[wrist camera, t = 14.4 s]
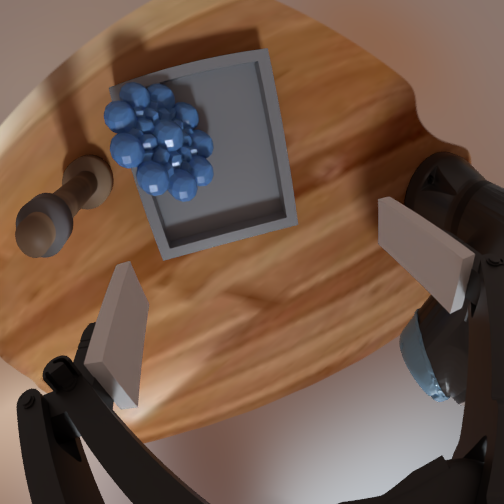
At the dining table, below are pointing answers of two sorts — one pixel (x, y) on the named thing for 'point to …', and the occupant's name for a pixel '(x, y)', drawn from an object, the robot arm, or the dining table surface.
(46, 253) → the post
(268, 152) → the holder tray
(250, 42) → the dining table surface
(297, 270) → the dining table surface
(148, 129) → the grapes
